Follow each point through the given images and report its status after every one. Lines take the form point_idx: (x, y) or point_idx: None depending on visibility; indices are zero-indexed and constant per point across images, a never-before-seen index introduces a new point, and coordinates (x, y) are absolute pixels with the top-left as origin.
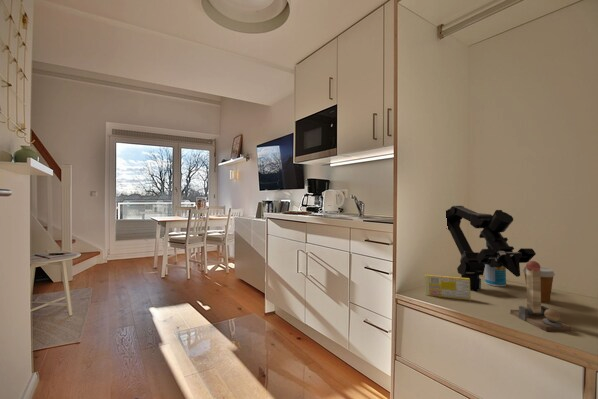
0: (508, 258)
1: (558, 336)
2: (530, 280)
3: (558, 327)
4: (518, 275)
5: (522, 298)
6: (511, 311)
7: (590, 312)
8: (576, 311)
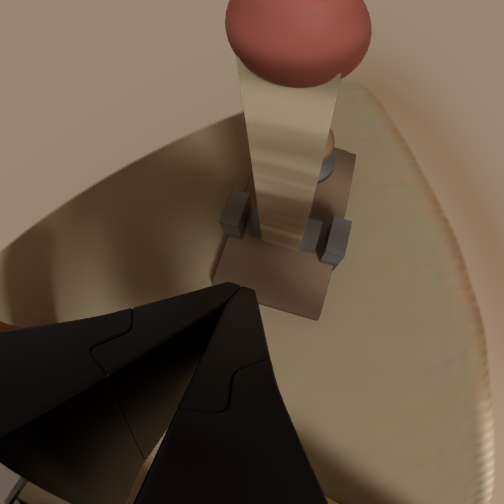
0: (282, 475)
1: (349, 133)
2: (329, 130)
3: None
4: (248, 290)
5: None
6: (319, 315)
7: (42, 222)
8: (59, 241)
